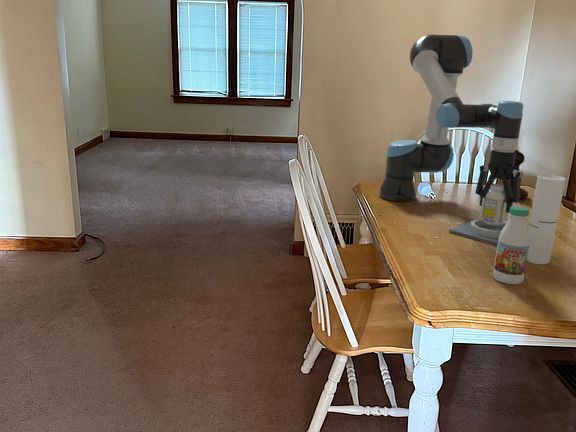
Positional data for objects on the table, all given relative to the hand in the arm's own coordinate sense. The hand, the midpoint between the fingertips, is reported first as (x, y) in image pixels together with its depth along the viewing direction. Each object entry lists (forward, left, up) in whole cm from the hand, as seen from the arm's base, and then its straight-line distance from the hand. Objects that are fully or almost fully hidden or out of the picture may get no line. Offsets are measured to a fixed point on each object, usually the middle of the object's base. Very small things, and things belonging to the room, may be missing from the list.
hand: (493, 218), depth 176 cm
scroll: (-19, +55, -6) cm, 58 cm away
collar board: (0, 0, -5) cm, 5 cm away
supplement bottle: (0, 0, -2) cm, 2 cm away
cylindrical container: (+20, -12, -6) cm, 24 cm away
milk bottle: (+21, -33, -6) cm, 39 cm away
